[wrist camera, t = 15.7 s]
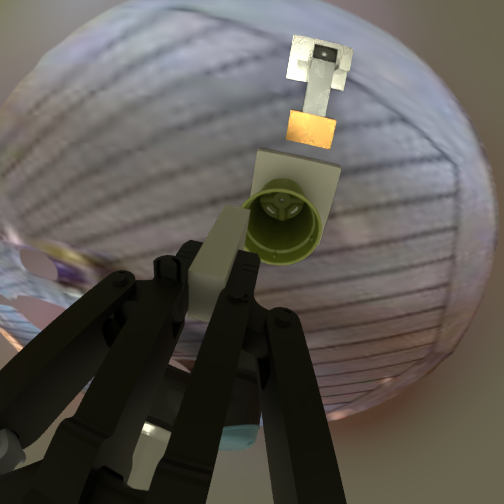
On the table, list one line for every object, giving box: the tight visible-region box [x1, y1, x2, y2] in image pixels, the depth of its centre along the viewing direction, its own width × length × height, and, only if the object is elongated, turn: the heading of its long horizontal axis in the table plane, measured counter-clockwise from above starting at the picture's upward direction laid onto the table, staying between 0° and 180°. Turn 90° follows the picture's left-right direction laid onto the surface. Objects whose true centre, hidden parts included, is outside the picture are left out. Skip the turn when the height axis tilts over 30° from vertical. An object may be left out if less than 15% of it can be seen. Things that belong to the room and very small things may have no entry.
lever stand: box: [286, 35, 353, 91], centre depth 23 cm, size 6×7×9 cm
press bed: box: [250, 148, 342, 246], centre depth 37 cm, size 12×11×2 cm
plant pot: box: [241, 179, 322, 265], centre depth 33 cm, size 9×9×9 cm
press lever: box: [286, 44, 338, 149], centre depth 23 cm, size 10×4×2 cm, turn 172°
